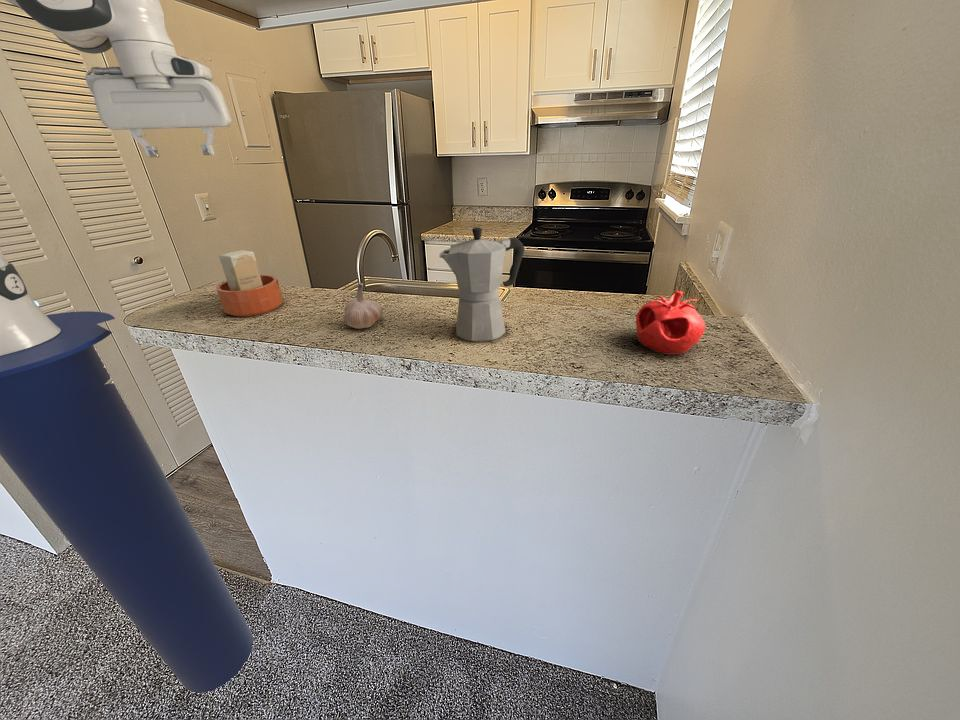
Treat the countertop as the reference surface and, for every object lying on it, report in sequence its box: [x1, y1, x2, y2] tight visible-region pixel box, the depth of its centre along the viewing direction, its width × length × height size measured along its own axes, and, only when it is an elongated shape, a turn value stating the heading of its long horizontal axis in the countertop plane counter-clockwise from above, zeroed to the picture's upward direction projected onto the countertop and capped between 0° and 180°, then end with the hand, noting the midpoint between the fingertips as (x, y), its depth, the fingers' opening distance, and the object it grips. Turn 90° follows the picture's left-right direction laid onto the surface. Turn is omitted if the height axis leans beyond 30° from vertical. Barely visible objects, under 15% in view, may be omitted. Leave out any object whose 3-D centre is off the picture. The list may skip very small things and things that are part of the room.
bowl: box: [215, 274, 284, 317], centre depth 85 cm, size 11×11×6 cm
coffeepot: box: [438, 226, 525, 343], centre depth 68 cm, size 15×9×18 cm, turn 117°
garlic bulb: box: [343, 282, 384, 330], centre depth 75 cm, size 8×7×8 cm
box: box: [218, 249, 263, 291], centre depth 84 cm, size 5×4×11 cm
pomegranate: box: [635, 290, 706, 355], centre depth 63 cm, size 10×10×9 cm
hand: (182, 156), depth 76 cm, fingers open, 8 cm apart
